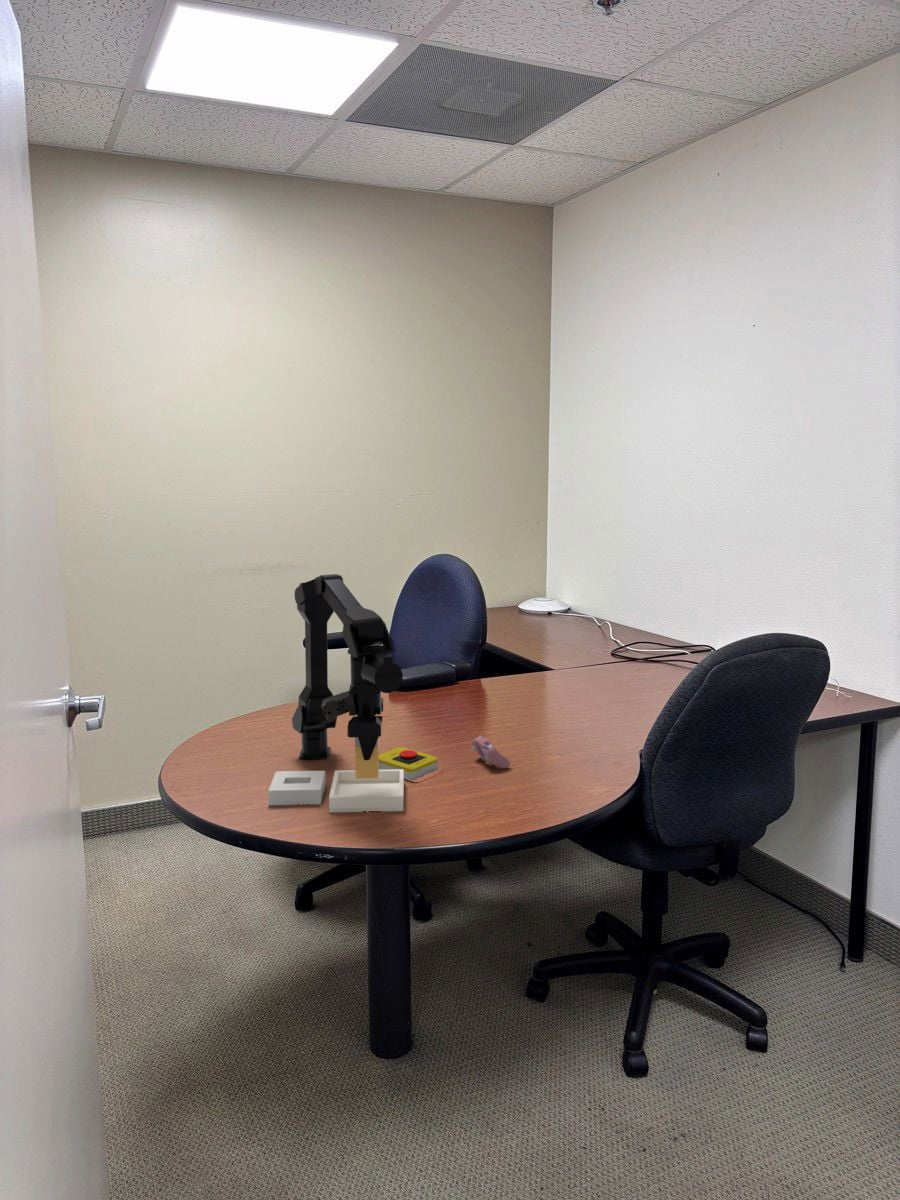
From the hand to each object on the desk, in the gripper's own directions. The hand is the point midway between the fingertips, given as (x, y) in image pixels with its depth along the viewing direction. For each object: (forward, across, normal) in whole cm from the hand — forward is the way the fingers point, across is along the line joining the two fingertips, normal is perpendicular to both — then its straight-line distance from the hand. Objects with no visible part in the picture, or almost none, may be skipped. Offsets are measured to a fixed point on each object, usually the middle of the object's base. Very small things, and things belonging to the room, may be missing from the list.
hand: (367, 757), depth 172 cm
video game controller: (+8, -18, +26) cm, 32 cm away
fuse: (+4, 0, 0) cm, 4 cm away
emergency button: (+9, -15, +7) cm, 19 cm away
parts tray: (+8, 0, 0) cm, 8 cm away
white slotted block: (+8, -2, -14) cm, 16 cm away
